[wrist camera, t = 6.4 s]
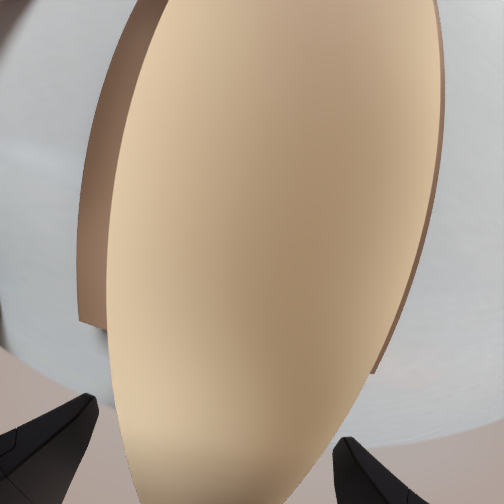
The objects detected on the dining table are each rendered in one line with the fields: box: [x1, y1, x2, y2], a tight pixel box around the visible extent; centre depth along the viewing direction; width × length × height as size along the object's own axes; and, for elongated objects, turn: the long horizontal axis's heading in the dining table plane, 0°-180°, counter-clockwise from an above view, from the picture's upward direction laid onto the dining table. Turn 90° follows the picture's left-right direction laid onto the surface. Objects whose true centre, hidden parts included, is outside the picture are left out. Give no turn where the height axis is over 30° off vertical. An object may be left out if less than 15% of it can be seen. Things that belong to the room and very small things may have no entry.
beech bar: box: [106, 0, 440, 504], centre depth 5 cm, size 4×19×5 cm, turn 169°
